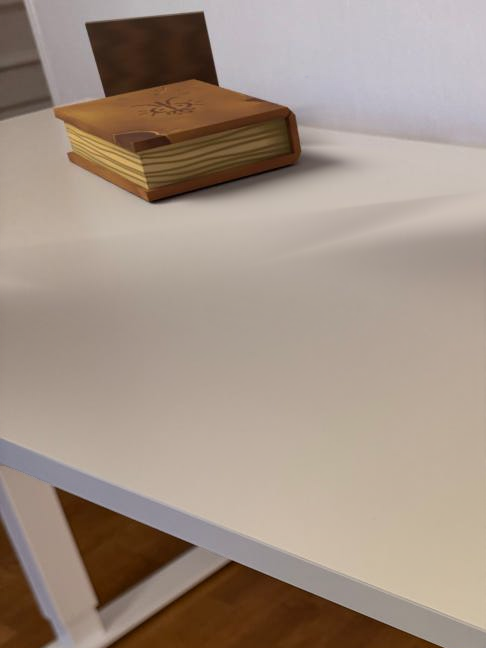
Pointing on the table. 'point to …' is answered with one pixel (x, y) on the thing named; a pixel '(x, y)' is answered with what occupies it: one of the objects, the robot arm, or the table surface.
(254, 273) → the table surface
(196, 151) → the diary
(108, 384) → the table surface
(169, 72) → the bookend
